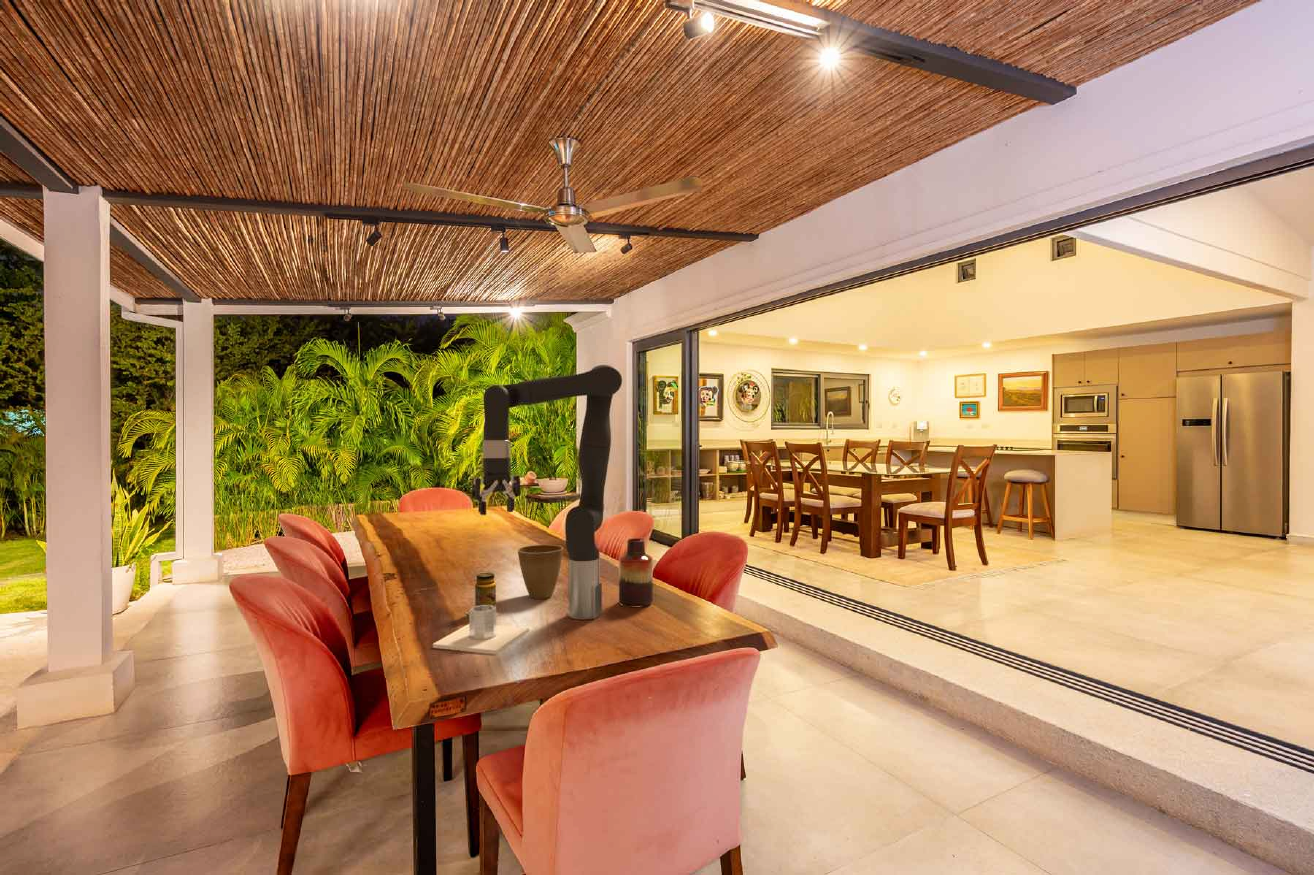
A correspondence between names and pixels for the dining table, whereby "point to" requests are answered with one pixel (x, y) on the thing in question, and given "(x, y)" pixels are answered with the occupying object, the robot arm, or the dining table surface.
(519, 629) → the duct flange
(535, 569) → the plant pot
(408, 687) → the dining table surface
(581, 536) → the robot arm
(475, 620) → the collar
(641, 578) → the vase
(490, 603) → the condiment
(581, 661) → the dining table surface
